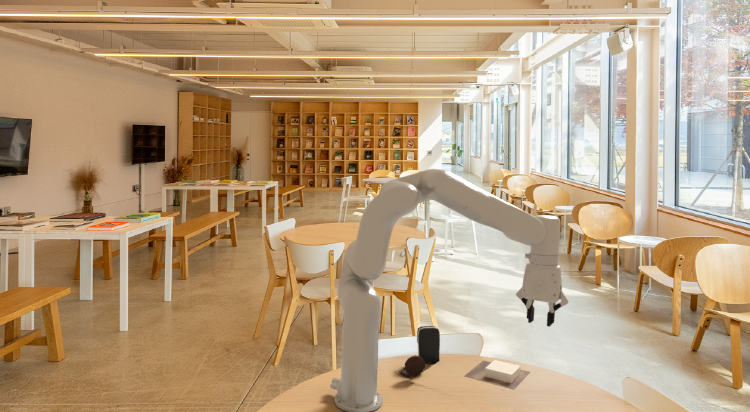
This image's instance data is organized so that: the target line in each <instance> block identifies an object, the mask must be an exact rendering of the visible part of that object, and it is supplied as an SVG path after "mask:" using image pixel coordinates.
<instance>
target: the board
mask: <svg viewBox="0 0 750 412" xmlns="http://www.w3.org/2000/svg"><path fill="white" fill-rule="evenodd" d="M492 362H493V361H492ZM492 362H490V361H487V360H482V361H481V362H480V363H478V364H477V365H476V366H474V368H471V370H470V371H468V372H467V373H465V374H464V377H466V378H470V379H473V380H476V381H480V382H483V383H487V384H492V385H495V386H500V387H504V388H507V389H510V390H515V389H516V388H518V386H519V385H520V384H521V383H523V380H525V378H527V376H528V375H529V374H530V373H531V371H528V370H523V369H521V370H520V375H519V376H518V377H517V378H516V379H515V380H514V381H513V382H512V383H508V382H504V381H501V380H497V379H493V378H489V377H485V368H486V367H487V366H488V365H489V364H491V363H492Z"/></svg>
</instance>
